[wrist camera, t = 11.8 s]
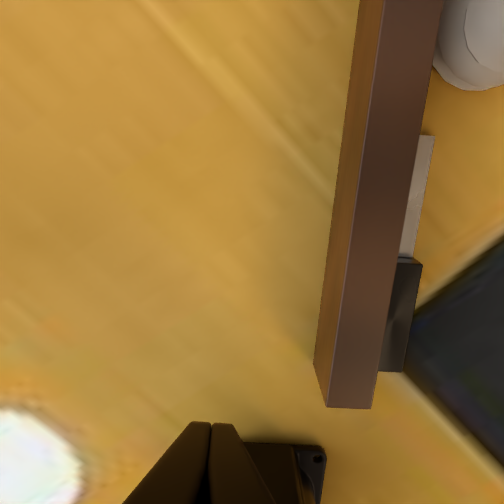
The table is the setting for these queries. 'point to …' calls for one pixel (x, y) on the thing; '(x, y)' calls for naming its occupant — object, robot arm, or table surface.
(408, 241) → the letter opener
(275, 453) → the robot arm
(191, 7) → the table surface
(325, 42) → the table surface
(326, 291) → the walnut rail
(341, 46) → the table surface
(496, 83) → the rook chess piece
